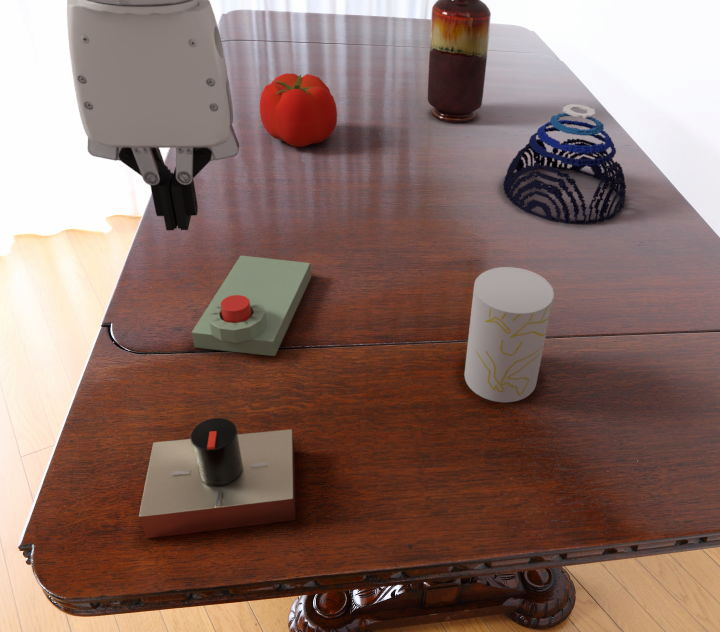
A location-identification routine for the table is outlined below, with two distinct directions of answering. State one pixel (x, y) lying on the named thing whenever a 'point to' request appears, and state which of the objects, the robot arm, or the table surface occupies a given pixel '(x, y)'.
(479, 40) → the vase
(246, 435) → the panel
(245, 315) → the button
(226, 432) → the hob knob
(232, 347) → the switch box
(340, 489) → the table surface
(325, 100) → the tomato
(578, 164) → the decorative bowl
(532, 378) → the white patterned cylinder
